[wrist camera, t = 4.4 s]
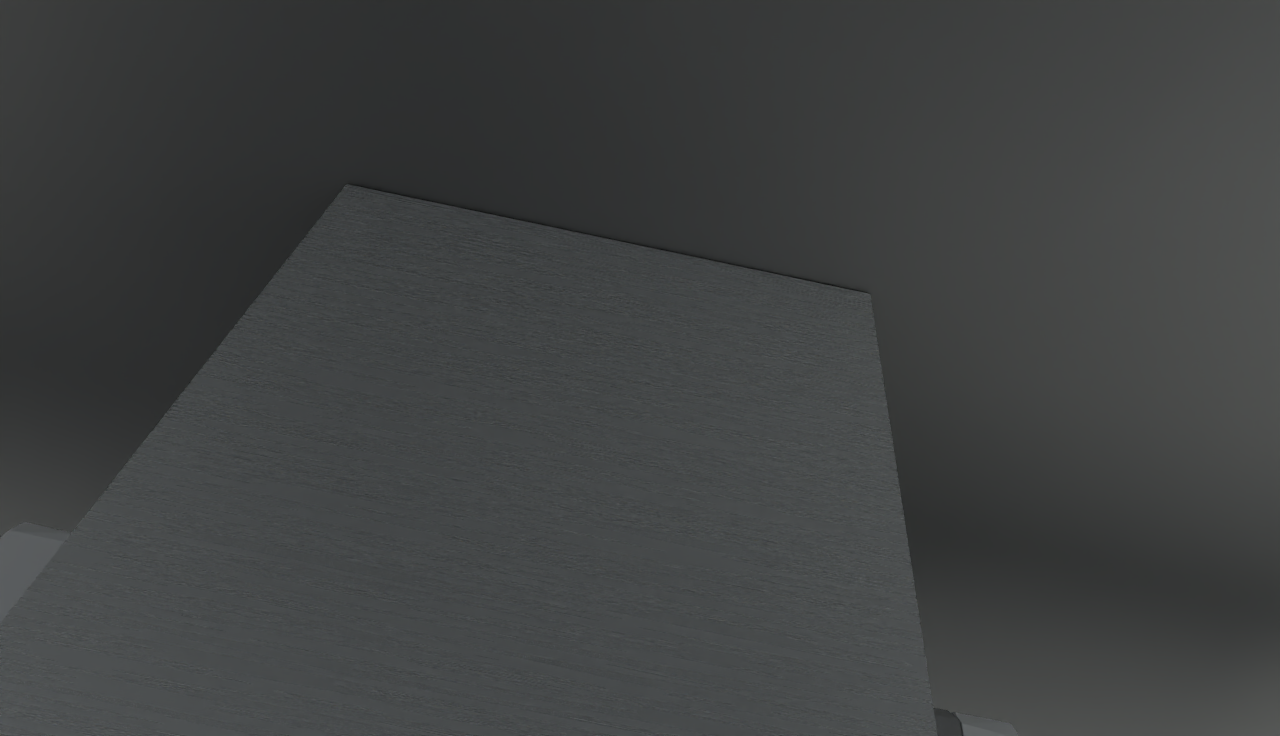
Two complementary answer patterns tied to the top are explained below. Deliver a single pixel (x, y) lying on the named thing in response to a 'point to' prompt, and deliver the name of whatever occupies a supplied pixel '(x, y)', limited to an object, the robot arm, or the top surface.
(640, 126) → the top surface
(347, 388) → the aluminium block
